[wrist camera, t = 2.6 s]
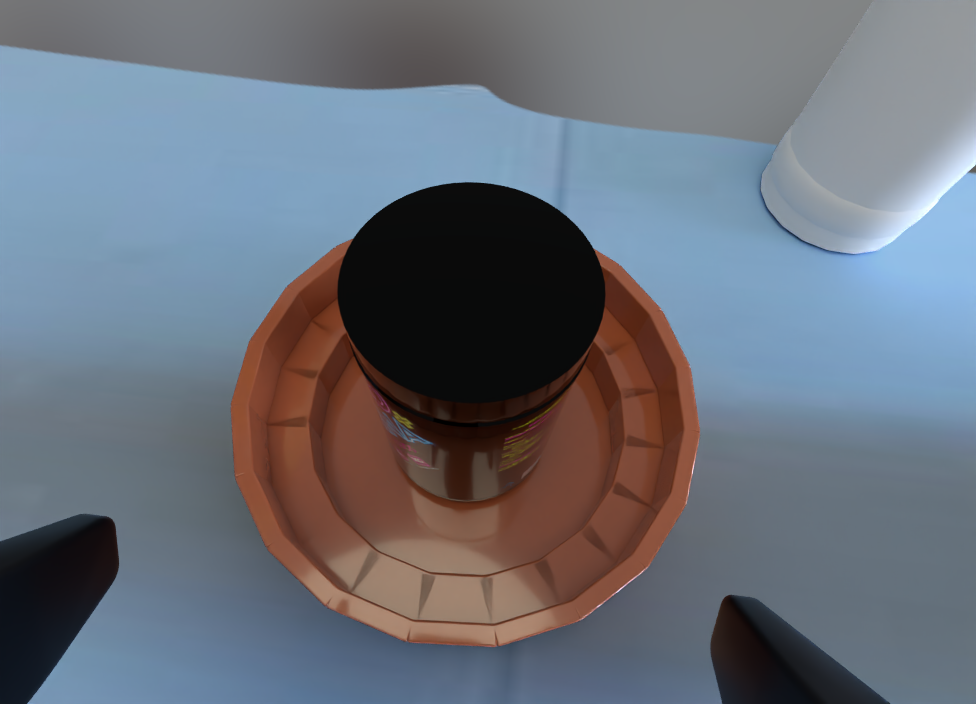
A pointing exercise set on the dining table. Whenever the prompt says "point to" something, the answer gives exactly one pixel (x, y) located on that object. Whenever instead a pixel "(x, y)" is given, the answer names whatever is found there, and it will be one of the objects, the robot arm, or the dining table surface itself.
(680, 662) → the dining table surface
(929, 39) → the bottle
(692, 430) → the bowl
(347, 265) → the supplement container
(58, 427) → the dining table surface
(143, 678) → the dining table surface
